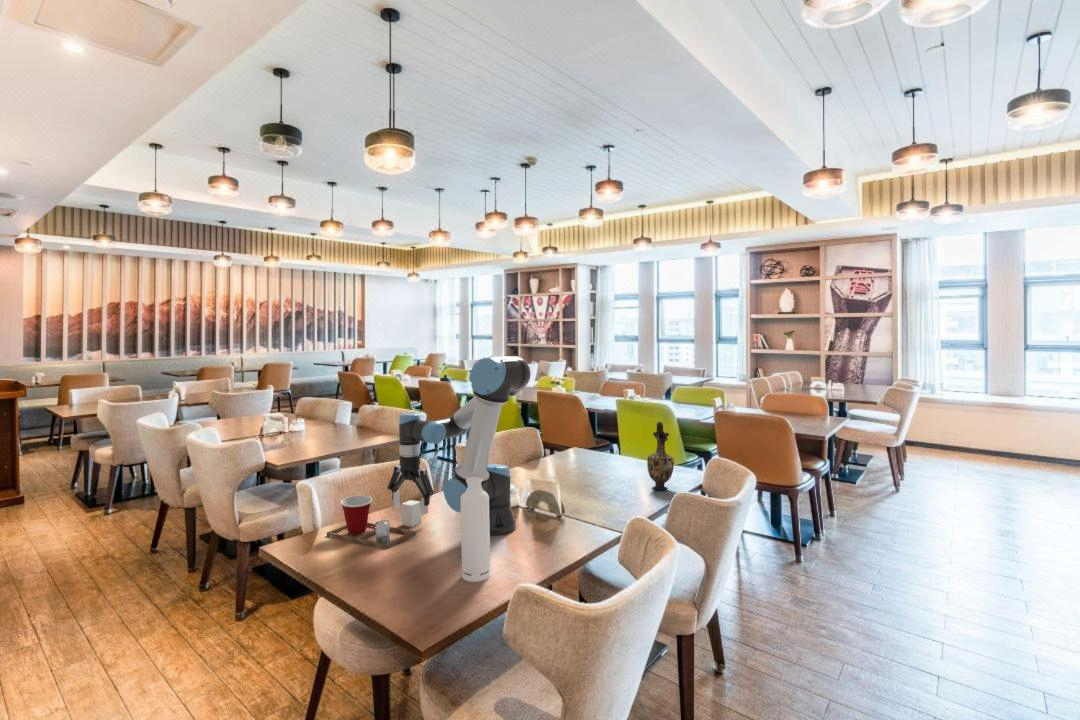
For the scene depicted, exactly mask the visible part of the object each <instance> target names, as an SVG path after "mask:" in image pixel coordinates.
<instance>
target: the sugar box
mask: <svg viewBox="0 0 1080 720" xmlns="http://www.w3.org/2000/svg"><path fill="white" fill-rule="evenodd" d="M400 508H401V525H402V526H404V525H406V526H405V527H410V526H411V527H410V528H413V527H416V526H418V525H419V524H421V523H422V501H418V500H412V499H409V500H407V501H404V502H402V503H400ZM415 525H416V526H415Z"/></svg>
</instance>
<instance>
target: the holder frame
mask: <svg viewBox="0 0 1080 720" xmlns="http://www.w3.org/2000/svg"><path fill="white" fill-rule="evenodd" d="M367 525H368V526H367V527H369V526H373V527H372V528H374V527H376V526H375V523H372V522H368V521H367ZM346 528H347V525H346V524H345V525H342V526H340V527H337V528H335V529H333V530H332V529H331V530H330V531H327V532H326V537H329V536H332V537H331V538H334V537H336V538H335V539H338V538H340V539H339V540H343V539H344V541H349V542H354V543H358V544H363V545H366V546H367V545H368V546H371V547H376V548H382V549H387V550H388V549H390V548H392V547H394V546H395V545H398V544H400V543H402V542H403V541H406V540H408V539H410V538H412V537H413V536H415V535H416V531H414V530H409V529H404V528H400V527H393V526H389V529H390V530H391V531H390V532H394V531H395V532H396V533H400V534H404V535H401V536H399V537H398V538H396V539H394V540H390V542H389V543H387V544H382V543H377V542H376V541H371V540H368V539H369V538H371V537H373V536H376V529H375V530H373V531H370V532H367V533H366V534H365V533H364V534H363V535H360V536H359V537H352V536H349V535H348V536H347V535H343V534H338V533H340V532H339V531H341V530H343V529H346ZM346 530H347V529H346ZM343 531H344V530H343ZM336 532H338V533H336ZM341 532H342V531H341ZM334 533H336V534H334Z"/></svg>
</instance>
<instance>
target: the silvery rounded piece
mask: <svg viewBox="0 0 1080 720" xmlns="http://www.w3.org/2000/svg"><path fill="white" fill-rule="evenodd" d="M374 524H375V526H376V528H375V530H376V535H375V542H377V543H382V544H387V543H389V542H391V540H390V538H391V536H390V535H391V533H390V532H391V531H390V529H389V527H390V520H385V519H383V520H378V521H376V522H375V523H374Z"/></svg>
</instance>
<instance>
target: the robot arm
mask: <svg viewBox="0 0 1080 720" xmlns="http://www.w3.org/2000/svg"><path fill="white" fill-rule="evenodd" d="M531 375H532V374H531V369H530V365H529V364H528V363H527V361H526V360H525V359H524V358H522V357H520V356H516V355H507V356H506V355H505V356H496V355H495V356H493V355H492V356H487V357H483V358H480V359H478V360H477V361H476V362H475V363H474V364H473V366H472V368H471V371H470V374H469V382H470V383H471V384H470V385H471V388H472V390H473V398H471V399H470V400H468V401H467V402H466V403H465V404H464V405H462V406H461V407H460V408H459V409H458V410H457V411H455V412H454V413H453V414H451V416H449V417H445V418H440V419H433V420H422V419H421V416H420V414H419V413H417V412H405V413H401V414H400V415H399V420H398V434H399V435H398V436H399V441H398V442H399V444H398V445H399V450H398V451H399V455H400V456H399V465H395V466H394V467H393V472H392V475H391V478H390V480H389V483H388V485H387V490H390V491H391V499H392V501H393V502H392V505H393V507H392V508H393V510H398V509H400V508H401V500H400V499H401V495H400V487H401V486H402V485H403V483H404V482H405V480H406V481H410V482H411V481H412V482H413V483H415V485H416V486H417V488H418V490H419V492H420V493H421V495H422V497H421V516H425V515H427V514H428V513H429V506H430V497H431V496H433V495H434V494H435V492H434V489H433V486H432V485H431V481H430V479H429V476H428V471H427V468H424V469H420V465H421V455H420V454H421V442H423V443H427V444H440V443H442V441H443V440H445V439H450V438H456V437H461V436H464V435H466V434H467V433H468V435H467V439H466V443H465V448H464V450H463V456H462V460H461V463H460V464H459V465H457V466H456V467H455V470H454V474H453V478H450V479H448V480H447V481H446V482H445V484H444V485H443V495H444V499H445V501H446V503H447V505H448V506H449V508H451V510H453V511H454V512H456V513H460V514H461V499H460V498H461V495H462V494H463V493H464V492H465V491H466V489H467V487H468V485H467V482H466V479H467V478H470V477H481V478H483V481H482V482H481V486H482V488H483V491H485V492H487V494H488V496H489V527H490V536H499V535H501V536H502V535H506V534H509V533H512V532H513V531H514V530H515V529H516V528H517V522H516V519H515V515H514V513H513V509H512V506H511V472H510V467H509V466H507V465H505V464H499V463H489V459H490V456H491V452H492V448H493V443H494V439H495V436H496V432H497V427H498V423H499V420H500V417H501V416H500V415H501V411H502V407H503V405H504V404H507V403H508V402H509V399H510V397H514V396H515V395H517V394H518V393H519V392H521V391H522V390H523V389H525V387H527V385H528V383H529V382H530V379H531ZM400 473H401V474H400Z"/></svg>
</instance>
